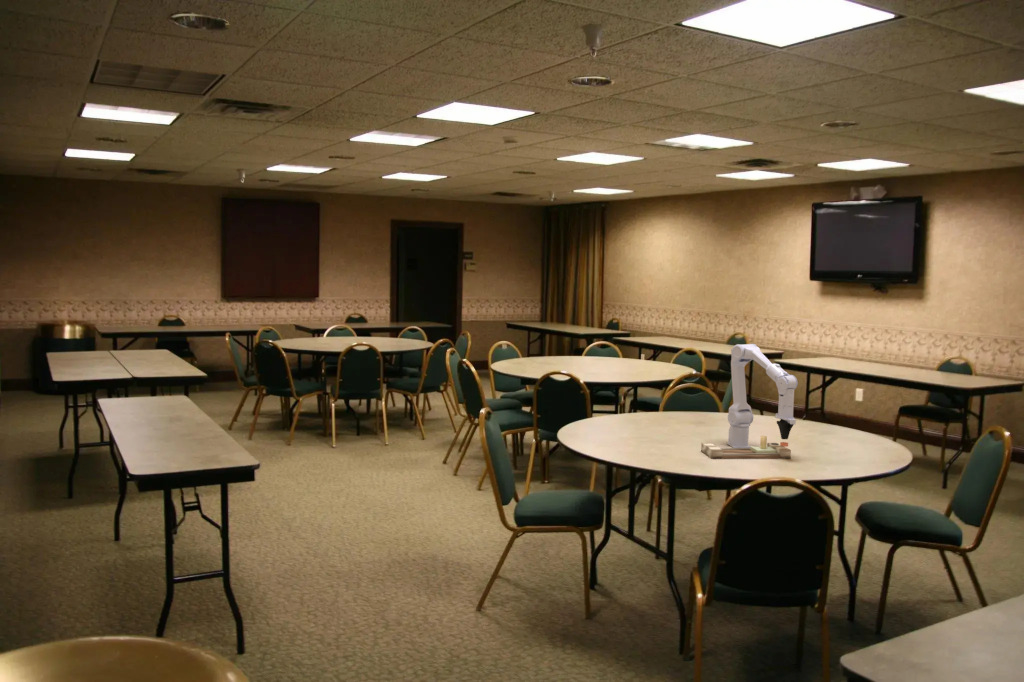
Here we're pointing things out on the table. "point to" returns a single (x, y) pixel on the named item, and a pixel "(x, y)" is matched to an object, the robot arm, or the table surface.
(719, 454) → the rail
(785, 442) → the button
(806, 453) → the table surface
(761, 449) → the carriage
